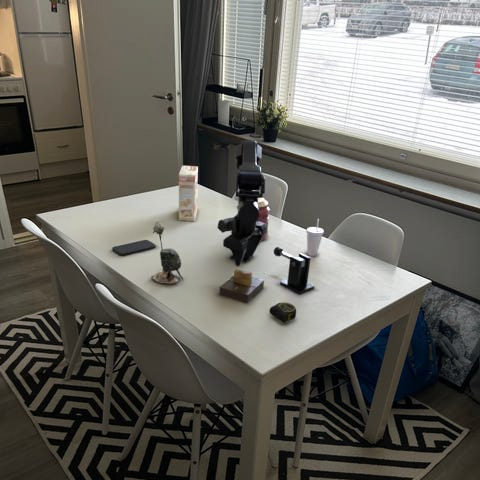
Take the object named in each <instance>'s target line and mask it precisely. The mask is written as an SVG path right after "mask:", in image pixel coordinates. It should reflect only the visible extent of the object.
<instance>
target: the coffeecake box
mask: <svg viewBox="0 0 480 480" xmlns="http://www.w3.org/2000/svg"><path fill="white" fill-rule="evenodd" d="M198 173H199V166H196V165H181V168H180V170H179V173H178V221H187V222H195V221H196V217H197V212H198V180H199V179H198V177H199V174H198Z"/></svg>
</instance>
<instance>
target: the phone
mask: <svg viewBox="0 0 480 480" xmlns="http://www.w3.org/2000/svg"><path fill="white" fill-rule="evenodd" d="M156 247H157V245H156V244H155V243H153V242H152V241H151V240H148V239H142V240H137V241H133V242H128V243H124V244H120V245H115V246H112V248H111V249H112V251H113V252H115V253H116V254H118V256H119V255H120V256H127V255H130V254H135V253H139V252H142V251H143V252H144V251H147V250H151V249H156Z"/></svg>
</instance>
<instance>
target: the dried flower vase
mask: <svg viewBox="0 0 480 480" xmlns="http://www.w3.org/2000/svg"><path fill="white" fill-rule="evenodd" d="M164 229H165V227H164V226H163V225H162V223H160V222H156V223H155V224H154V226H153V228H152V230H153V231H152V234H155V233H156V235H159V236H158V237H159V241H160V247H161V250H160V252H159V256H160V265H161V268H162V270H161V271H157V272H156V273H155V274H154V275H152V276H151V277H150V279H152V280H153V281H155V282H157V283H159V284H172V285H173V284H174V285H175V284H177V283H178V282H179V281H181V280H182V281H184V277H183V275H181V272H180V268H181V267H182V261H181V256H180V254H179V253H178V252H177V251H176V249H174V248H170V247H169V248H167V247H166V248H163V242H162V235H163V233H164ZM175 271H176V273H177V274H178V275H176V274H175V273H173V272H175Z"/></svg>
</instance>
